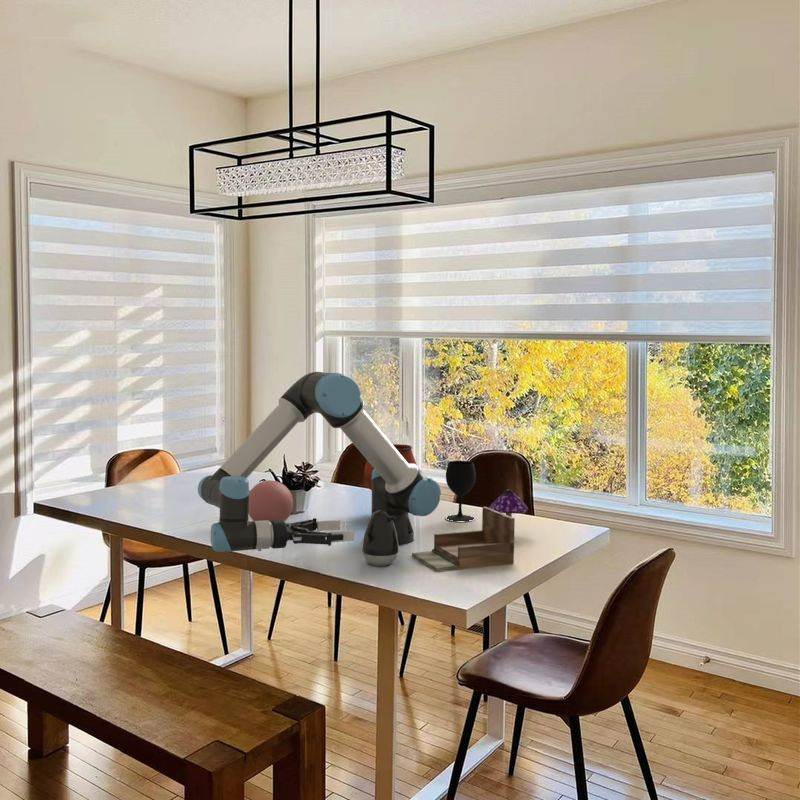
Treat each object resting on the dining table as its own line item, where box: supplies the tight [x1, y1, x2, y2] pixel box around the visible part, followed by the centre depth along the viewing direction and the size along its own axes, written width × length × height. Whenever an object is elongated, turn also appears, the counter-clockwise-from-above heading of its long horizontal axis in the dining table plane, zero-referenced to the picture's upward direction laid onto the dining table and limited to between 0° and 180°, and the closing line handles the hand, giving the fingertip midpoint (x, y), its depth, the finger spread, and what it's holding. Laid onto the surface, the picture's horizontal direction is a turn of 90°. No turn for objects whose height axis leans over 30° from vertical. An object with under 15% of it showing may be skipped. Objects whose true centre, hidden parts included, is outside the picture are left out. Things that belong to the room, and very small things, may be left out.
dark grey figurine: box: [361, 510, 400, 567], centre depth 238 cm, size 10×10×15 cm
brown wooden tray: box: [411, 506, 516, 572], centre depth 243 cm, size 17×24×13 cm
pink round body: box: [248, 479, 294, 522], centre depth 283 cm, size 15×20×15 cm
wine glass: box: [445, 460, 477, 521], centre depth 297 cm, size 10×10×20 cm
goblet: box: [363, 443, 417, 492], centre depth 301 cm, size 19×19×25 cm
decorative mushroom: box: [489, 489, 529, 517], centre depth 274 cm, size 12×12×15 cm
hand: (346, 530), depth 234 cm, fingers open, 13 cm apart
